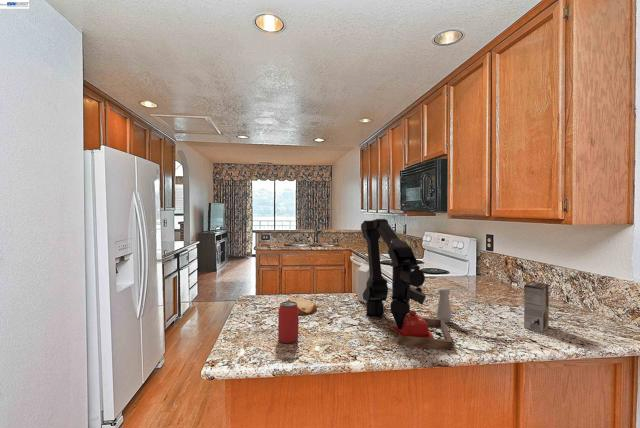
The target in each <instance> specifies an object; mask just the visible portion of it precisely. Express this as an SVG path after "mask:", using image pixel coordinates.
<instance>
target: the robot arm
mask: <svg viewBox="0 0 640 428" xmlns="http://www.w3.org/2000/svg"><path fill="white" fill-rule="evenodd" d="M360 229H361V232H362V233H361V234H362V237H363V239H364V240H365V241H366V246H367V255H368V258H367V261H368V262H369V272H370V277H369V279H368V281H367V287H366V289H365V291H364V293H363V299H364V300H366V301H367V304H366V313H365V316H366V317H373V318H382V317H383V315H384V313H385V304H384V303H383V302H384V301H387V299H388V294H389V288H388V281H387V279H386V278H384V276H383V274H382V264H381V255H380V254H381V253H380V242H379V241H380V238H381V239H382V240H383V241H384V243H385V244H386V246H387V248H388V249H387V254H388V257H389V258H390V261H391V263H390V264H389V266H390V267H392V280H391V281H392V282H391V289H392V292H391V301H390V305H389V306H390V308H389V309H390V310H389V311H390V312H391V314H392V317H393V320H394V322H395V325H397V327H398V329H400V330H401V329H402V325H403V321H404V317H405V315H406V314H409V312H410V311H411V305H410V300H412V301H413V302H415V303H418V304H419V305H424V302H425V300H426V297H427V295H426V293H425V292H423V289H422V287H421V286H423V285H424V283H425V280H426V276H425V274H424V271H422V270H421V267H420V265H418V260H417V258H416V256H415V254H414V251H413V248H412V247H411V246H410V245H409V244H408V243H407V242H405V241H403V240H401V239H400V237H398V235H397V234H396V232H395V231H394V230H393V229H392V227H391V225H390V224H389V221H388V220H387V219H386V218H376V219H373V220H364V221H363V222H362V223H361V226H360ZM411 286H412V287H413V288H412V287H411ZM414 287H415V288H414Z"/></svg>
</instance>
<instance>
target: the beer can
mask: <svg viewBox="0 0 640 428" xmlns="http://www.w3.org/2000/svg"><path fill="white" fill-rule="evenodd" d="M299 315H300V314H299V310H298V306H297V303H296V302H293V301H288V300H287V301H286V300H285V301H281V302H280V304H279V307H278V319H277V323H278V324H277V325H278V327H277V329H278V331H277V338H278V341H279V342H281V343H283V344H291V343H296V342H297V341H298V340H299Z"/></svg>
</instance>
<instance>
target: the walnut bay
mask: <svg viewBox="0 0 640 428" xmlns="http://www.w3.org/2000/svg"><path fill="white" fill-rule="evenodd" d="M421 317H422V318H423V319H424V320H425V321H426V322H427V325H428V327H429V326H430V327H439V328H440V329H441V333H442V335H443V339H442V338H441V339H438V338H422V337H412V336H403V335H399V334H398V335H397V338H398V339H397V341H398V342H397V344H398V345H402V346H413V347H418V348H419V347H420V348H429V349H438V350H444V351H445V350H447V351H453V341H452V338H451V335H450V333H449V332H450V331H449V330H448V327H447V325H446V323H445V322H444V319H437V318H436V317H435V318H433V317H431V318H430V317H424V316H421Z"/></svg>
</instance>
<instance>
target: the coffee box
mask: <svg viewBox="0 0 640 428" xmlns="http://www.w3.org/2000/svg"><path fill="white" fill-rule="evenodd" d="M523 287H524V291H523V292H524V293H523V295H524V297H523V298H524V300H523V302H524V304H523V308H524V309H523V310H524V311H523V328H524V329H528V330H532V331H536V332H540V333H544V332H545V331H546V330H547V329H548V327H549V324H550V323H549V322H550V321H549V317H550V315H549V312H550V311H549V308H550V307H549V305H550V303H549V301H550V300H549V296H550V293H549V291H550V290H549V288H550V287H549V283H542V282H535V281H529V282H527V283H525V284H524V286H523Z"/></svg>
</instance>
